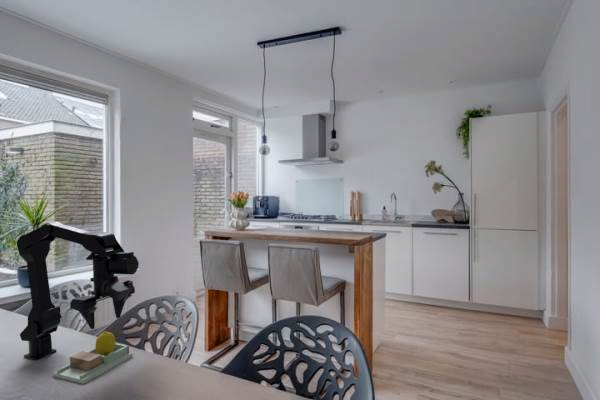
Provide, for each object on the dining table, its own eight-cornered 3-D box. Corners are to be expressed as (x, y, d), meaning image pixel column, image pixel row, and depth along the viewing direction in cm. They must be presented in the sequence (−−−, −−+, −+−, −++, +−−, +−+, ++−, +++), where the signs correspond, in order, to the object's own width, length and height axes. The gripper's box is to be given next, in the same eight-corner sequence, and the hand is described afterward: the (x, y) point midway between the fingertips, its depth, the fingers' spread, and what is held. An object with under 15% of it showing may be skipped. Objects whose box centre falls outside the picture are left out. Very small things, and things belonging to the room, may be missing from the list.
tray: (53, 376, 101) (52, 365, 101) (105, 350, 117) (104, 341, 117) (83, 383, 97) (82, 372, 97) (132, 356, 113) (132, 346, 113)
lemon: (107, 361, 108) (106, 335, 107) (91, 360, 109) (90, 334, 108) (120, 353, 113) (119, 328, 113) (105, 351, 114) (104, 327, 114)
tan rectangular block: (70, 366, 104) (69, 356, 104) (82, 360, 108) (82, 350, 108) (89, 371, 101) (89, 361, 101) (102, 364, 105) (101, 354, 105)
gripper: (95, 283, 98) (98, 338, 99) (146, 268, 116) (148, 315, 116) (67, 280, 102) (70, 333, 103) (121, 266, 120) (122, 312, 120)
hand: (105, 323), depth 110 cm, fingers open, 9 cm apart
